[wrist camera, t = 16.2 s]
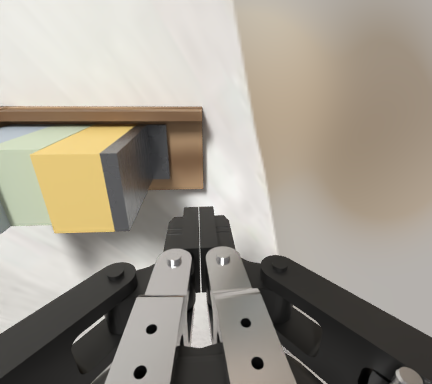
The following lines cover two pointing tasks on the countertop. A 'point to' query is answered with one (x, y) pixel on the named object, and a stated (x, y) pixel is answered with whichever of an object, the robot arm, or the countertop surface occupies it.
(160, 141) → the bookend
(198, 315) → the countertop surface
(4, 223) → the book slate
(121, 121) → the book trough
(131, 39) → the countertop surface
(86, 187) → the book ochre
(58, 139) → the book sage
